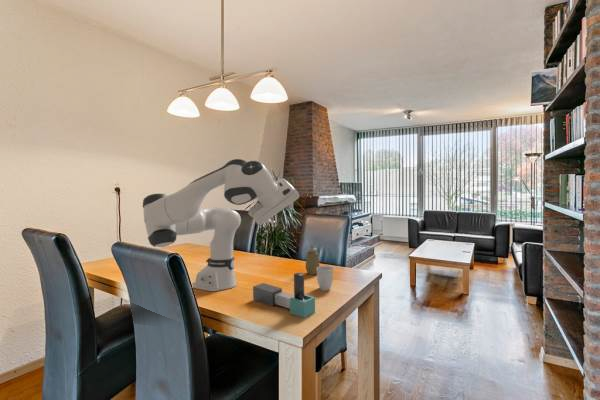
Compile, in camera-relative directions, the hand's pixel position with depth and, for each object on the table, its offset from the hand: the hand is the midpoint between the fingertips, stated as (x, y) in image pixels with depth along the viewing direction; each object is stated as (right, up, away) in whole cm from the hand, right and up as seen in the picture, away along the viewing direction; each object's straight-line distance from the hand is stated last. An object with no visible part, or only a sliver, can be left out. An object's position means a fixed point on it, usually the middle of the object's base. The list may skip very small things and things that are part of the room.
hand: (282, 215), depth 124 cm
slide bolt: (+3, -37, -1) cm, 37 cm away
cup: (+19, -37, +22) cm, 47 cm away
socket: (+8, -38, -5) cm, 39 cm away
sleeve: (-7, -37, +7) cm, 39 cm away
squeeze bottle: (+14, -36, +47) cm, 61 cm away
